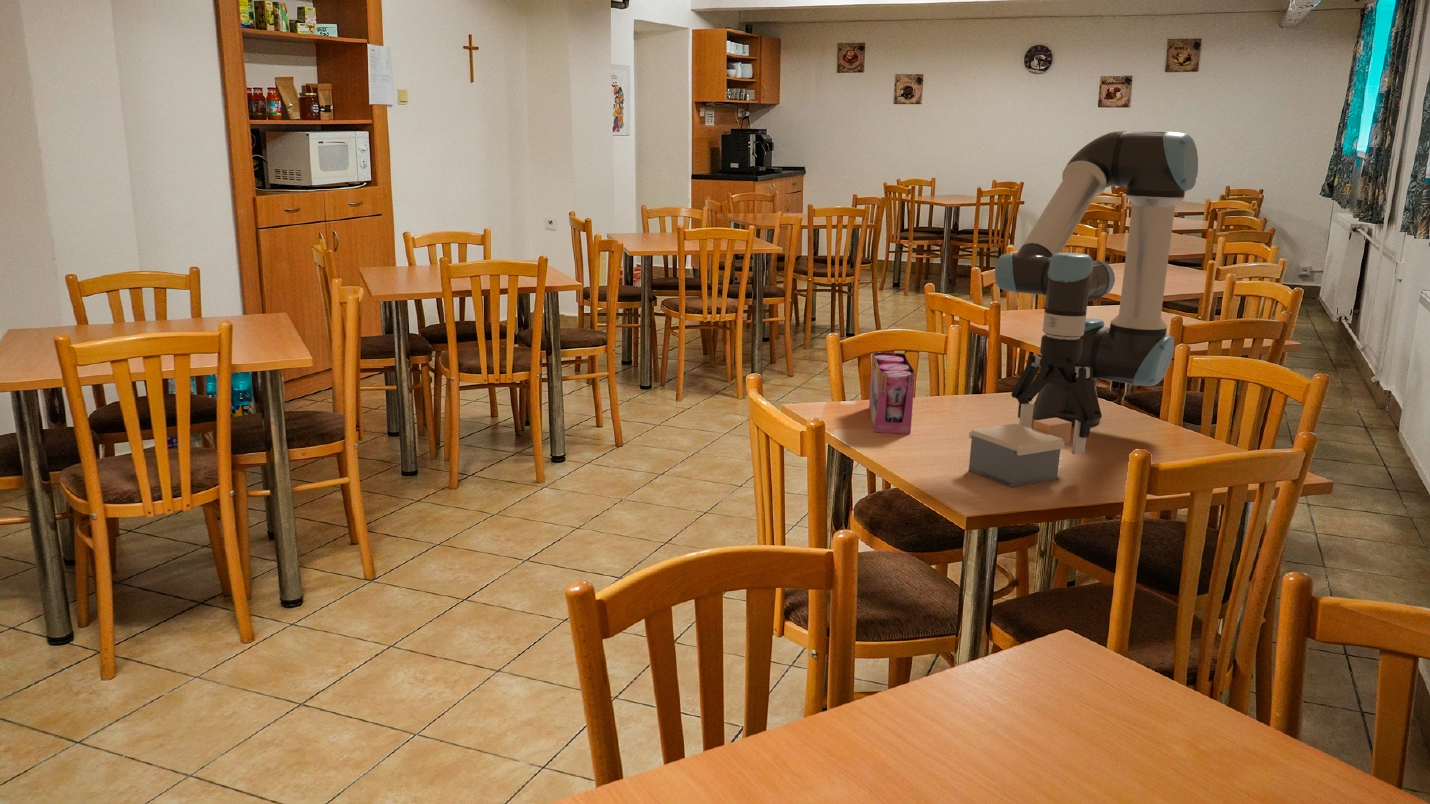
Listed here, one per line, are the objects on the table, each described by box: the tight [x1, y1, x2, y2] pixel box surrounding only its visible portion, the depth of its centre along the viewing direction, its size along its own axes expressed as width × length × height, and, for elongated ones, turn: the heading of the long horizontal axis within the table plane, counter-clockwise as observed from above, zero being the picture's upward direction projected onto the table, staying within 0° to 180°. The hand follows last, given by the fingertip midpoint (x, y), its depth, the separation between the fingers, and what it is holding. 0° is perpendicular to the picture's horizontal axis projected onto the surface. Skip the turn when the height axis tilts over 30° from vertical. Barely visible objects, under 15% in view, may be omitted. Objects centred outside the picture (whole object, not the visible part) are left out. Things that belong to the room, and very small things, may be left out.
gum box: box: [868, 351, 916, 435], centre depth 236 cm, size 24×8×14 cm, turn 176°
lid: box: [968, 418, 1072, 456], centre depth 201 cm, size 18×13×4 cm
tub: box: [968, 436, 1061, 488], centre depth 200 cm, size 12×11×7 cm
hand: (1050, 444), depth 204 cm, fingers open, 13 cm apart
